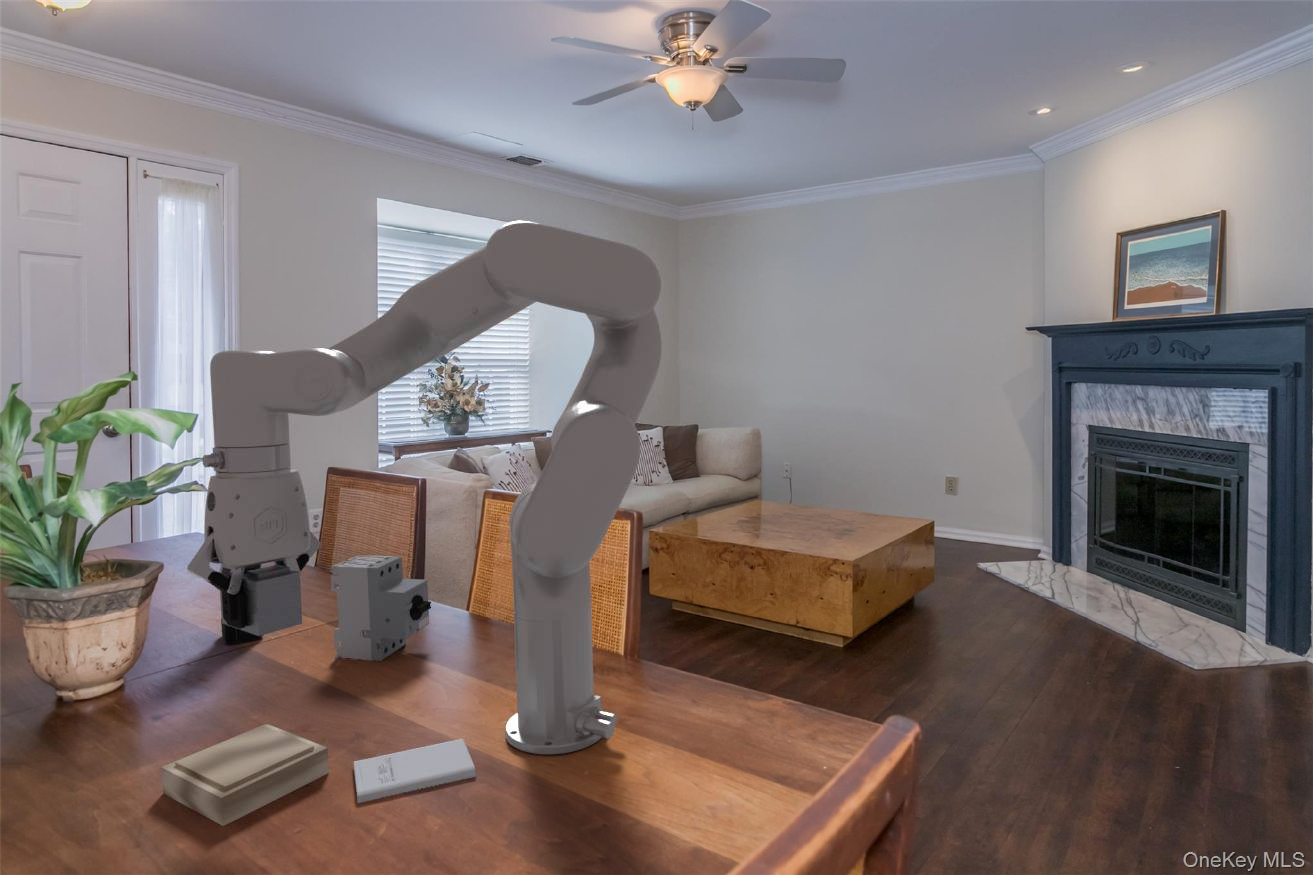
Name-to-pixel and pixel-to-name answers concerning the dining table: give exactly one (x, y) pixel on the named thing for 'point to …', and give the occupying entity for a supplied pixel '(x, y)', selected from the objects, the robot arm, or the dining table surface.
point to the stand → (244, 773)
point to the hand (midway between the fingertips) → (261, 617)
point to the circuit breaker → (376, 606)
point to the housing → (270, 598)
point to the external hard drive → (412, 770)
